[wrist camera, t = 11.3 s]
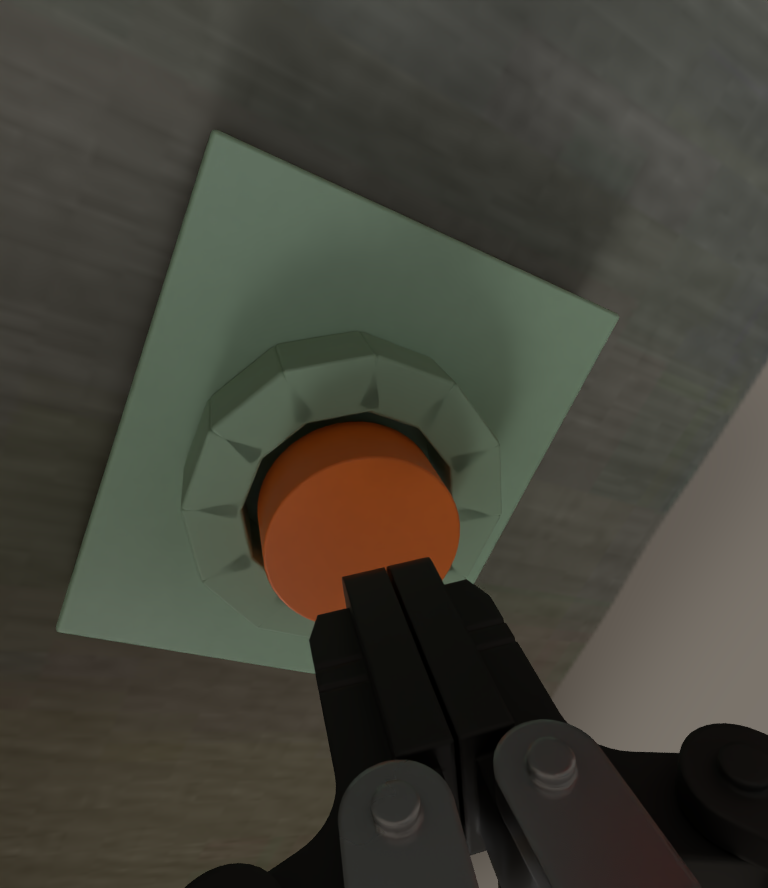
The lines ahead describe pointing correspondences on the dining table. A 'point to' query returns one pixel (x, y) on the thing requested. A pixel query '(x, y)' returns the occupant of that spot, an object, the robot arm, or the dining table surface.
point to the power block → (310, 396)
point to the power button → (350, 513)
